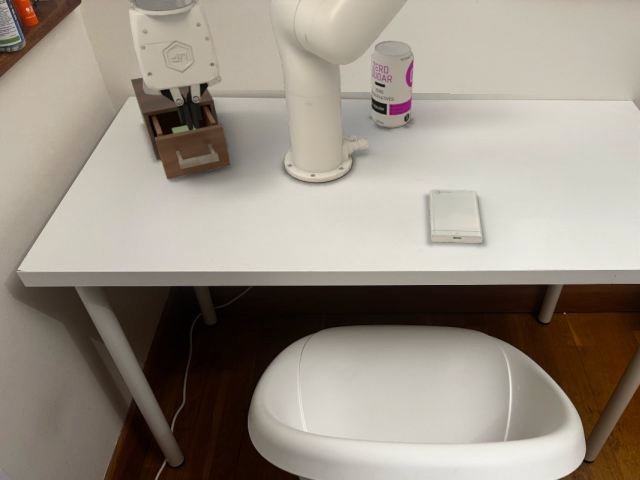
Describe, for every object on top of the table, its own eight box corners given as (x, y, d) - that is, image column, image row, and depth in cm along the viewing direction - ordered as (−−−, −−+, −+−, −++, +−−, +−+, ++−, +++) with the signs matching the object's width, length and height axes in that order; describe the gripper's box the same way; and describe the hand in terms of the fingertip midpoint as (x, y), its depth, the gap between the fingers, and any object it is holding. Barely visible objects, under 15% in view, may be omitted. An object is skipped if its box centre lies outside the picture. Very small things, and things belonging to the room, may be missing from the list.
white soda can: (412, 112, 121) (416, 41, 111) (407, 131, 115) (410, 58, 105) (375, 108, 122) (376, 37, 112) (368, 127, 116) (367, 54, 106)
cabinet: (223, 146, 110) (213, 99, 104) (156, 160, 106) (142, 112, 100) (206, 112, 120) (196, 68, 113) (144, 124, 116) (130, 79, 109)
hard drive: (429, 189, 98) (431, 234, 89) (476, 190, 98) (483, 235, 89) (428, 196, 99) (431, 242, 91) (475, 198, 99) (482, 243, 91)
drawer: (237, 179, 101) (230, 140, 95) (172, 194, 97) (160, 154, 92) (213, 131, 112) (205, 94, 107) (154, 143, 109) (143, 105, 103)
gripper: (102, 10, 67) (144, 147, 80) (227, -5, 72) (248, 127, 85) (96, -9, 72) (136, 123, 85) (213, -22, 77) (235, 105, 89)
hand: (192, 125), depth 85 cm, fingers closed
